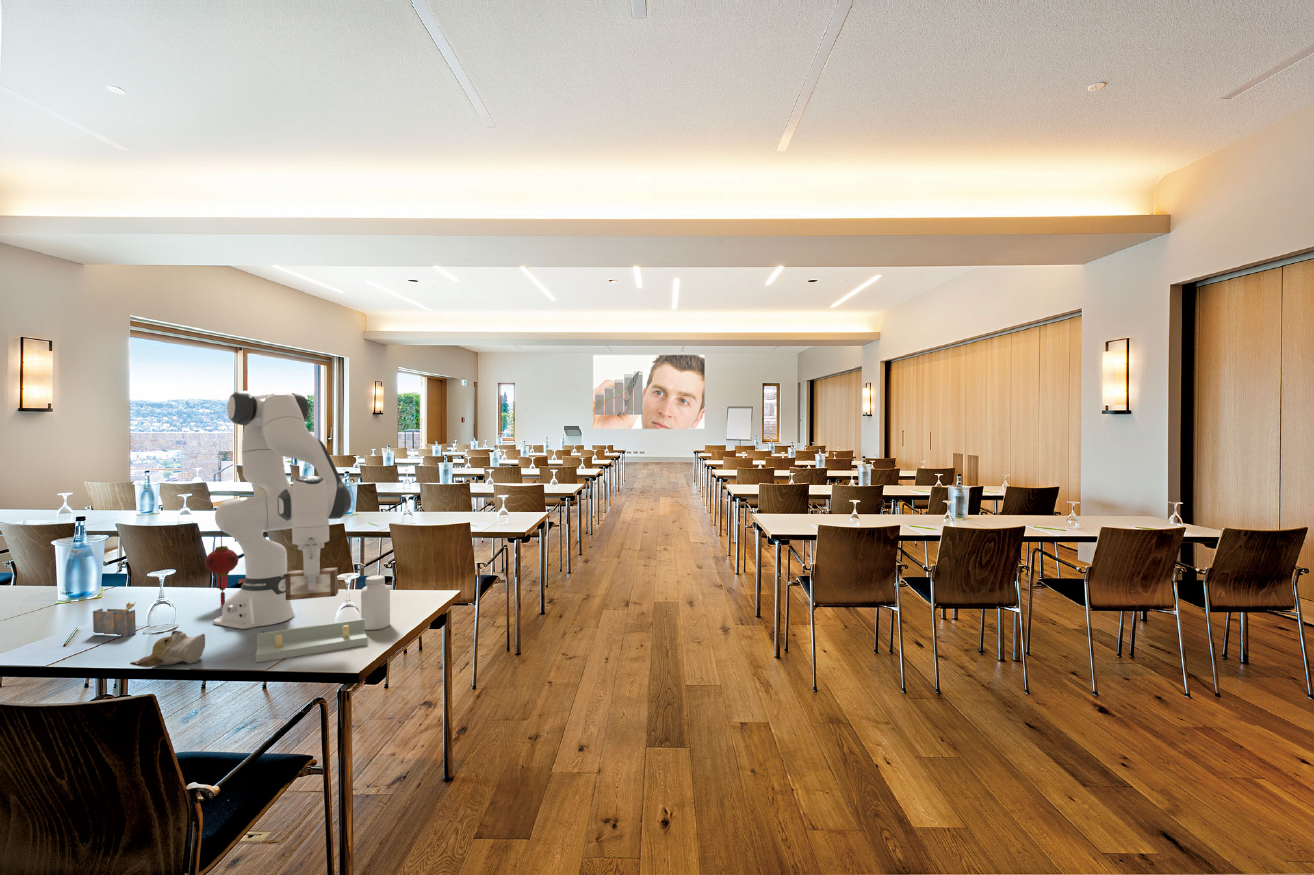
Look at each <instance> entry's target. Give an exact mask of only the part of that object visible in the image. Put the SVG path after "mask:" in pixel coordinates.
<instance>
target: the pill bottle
mask: <svg viewBox="0 0 1314 875" xmlns="http://www.w3.org/2000/svg"><path fill="white" fill-rule="evenodd" d="M385 578H386V577H385V576H384V575H383V574H382V575H380V574H379V575H370V576H367V577H366V578H365V585H366V586H364V587H362V589H361V591H360V600H361V601H360V607H361V608H360V612H361V613H360V617H361V618H360V619H365V630H366V631H375V630H380V629H385V628H387V627H389V626H390V624H391V597H390V596H391V591H390V590H391V588H390V586H388V585H387V584H386V581H385V580H386V579H385Z"/></svg>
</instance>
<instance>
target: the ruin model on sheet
mask: <svg viewBox="0 0 1314 875" xmlns="http://www.w3.org/2000/svg"><path fill="white" fill-rule="evenodd" d="M135 604H136V602H134V603H131V602H130V601H129V602H128V603H126V606H125V608H124V609H123V608H121V609H120V608H107V609H106V610H104V609H103V608H99V609H96V610H92V623H93V624H92V627H93V629H92V630H93V632H95V633H104V634H117V635H121V636H129V637H131V636H130V635H132V636H134V635H133V634H135V635H137V634H136V633H137V631H136V610H135V609H132V608H133V607H135ZM131 609H132V610H131Z"/></svg>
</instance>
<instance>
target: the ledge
mask: <svg viewBox="0 0 1314 875" xmlns="http://www.w3.org/2000/svg"><path fill="white" fill-rule="evenodd" d="M367 638H368V637H367V634H366V631H365V619H361V618H357V619H352V620H350V619H349V620H345V621H343V620H342V621H337V622H331V623H323V624H316V625H315V624H314V625H311V626H310V625H308V626H301V627H294V628H288V629H281V630H280V629H279V630H275V631H274V630H273V631H267V632H266V631H265V632H260V633H259V632H258V633H257V648H256V653H255V663H263V662H268V661H274V660H282V659H285V658H286V659H287V658H293V657H299V656H300V657H301V656H305V655H306V656H307V655H312V654H313V655H314V654H317V653H319V654H320V653H325V652H329V651H336V650H343V649H349V648H355V647H361V646H367V643H368V641H367Z"/></svg>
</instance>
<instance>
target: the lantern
mask: <svg viewBox="0 0 1314 875" xmlns="http://www.w3.org/2000/svg"><path fill="white" fill-rule="evenodd" d="M222 532H223V531H222V530H221V529H220V546H216V547H215V549H214V550H213V551H212V552H210V553H208V555H207V556H206V558H205V560H204V565H205V567H206V569H207V570H208V571H209V572H210V573H213V574H215V576H216V589H218V590H220V606H221V605H224V603H225V602H226V593H225V592H224V590H225V589H226V588H229V577H228V576H229V573H230V572H231V571H233V570H234V569H235V568H236V566H238V564H239V556H238V554H237V553H236V552H235V551H234V550H232V549H230V548H229V547H228V546H226V545H223V541H222V540H223V538H222V537H223V536H222Z"/></svg>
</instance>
